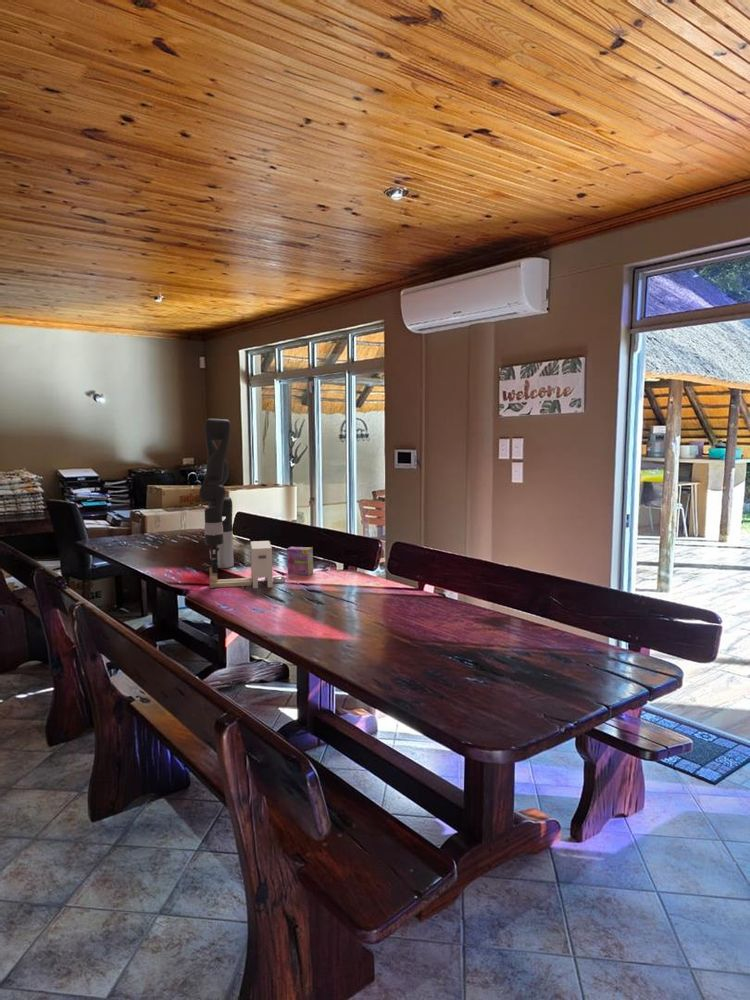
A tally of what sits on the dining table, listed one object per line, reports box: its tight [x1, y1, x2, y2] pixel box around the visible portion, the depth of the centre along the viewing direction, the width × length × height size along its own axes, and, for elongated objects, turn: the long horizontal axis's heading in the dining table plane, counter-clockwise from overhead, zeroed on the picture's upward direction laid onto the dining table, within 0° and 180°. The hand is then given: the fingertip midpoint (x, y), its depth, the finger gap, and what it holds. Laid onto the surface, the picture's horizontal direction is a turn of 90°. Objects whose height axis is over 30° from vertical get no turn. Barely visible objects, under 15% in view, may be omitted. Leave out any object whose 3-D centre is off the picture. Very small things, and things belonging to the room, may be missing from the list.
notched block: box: [250, 540, 274, 589], centre depth 271 cm, size 19×8×16 cm, turn 13°
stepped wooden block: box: [208, 566, 253, 589], centre depth 269 cm, size 7×17×8 cm, turn 103°
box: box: [286, 546, 314, 576], centre depth 289 cm, size 10×6×12 cm, turn 73°
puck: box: [273, 575, 286, 584], centre depth 274 cm, size 5×5×2 cm
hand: (215, 570), depth 268 cm, fingers open, 8 cm apart
